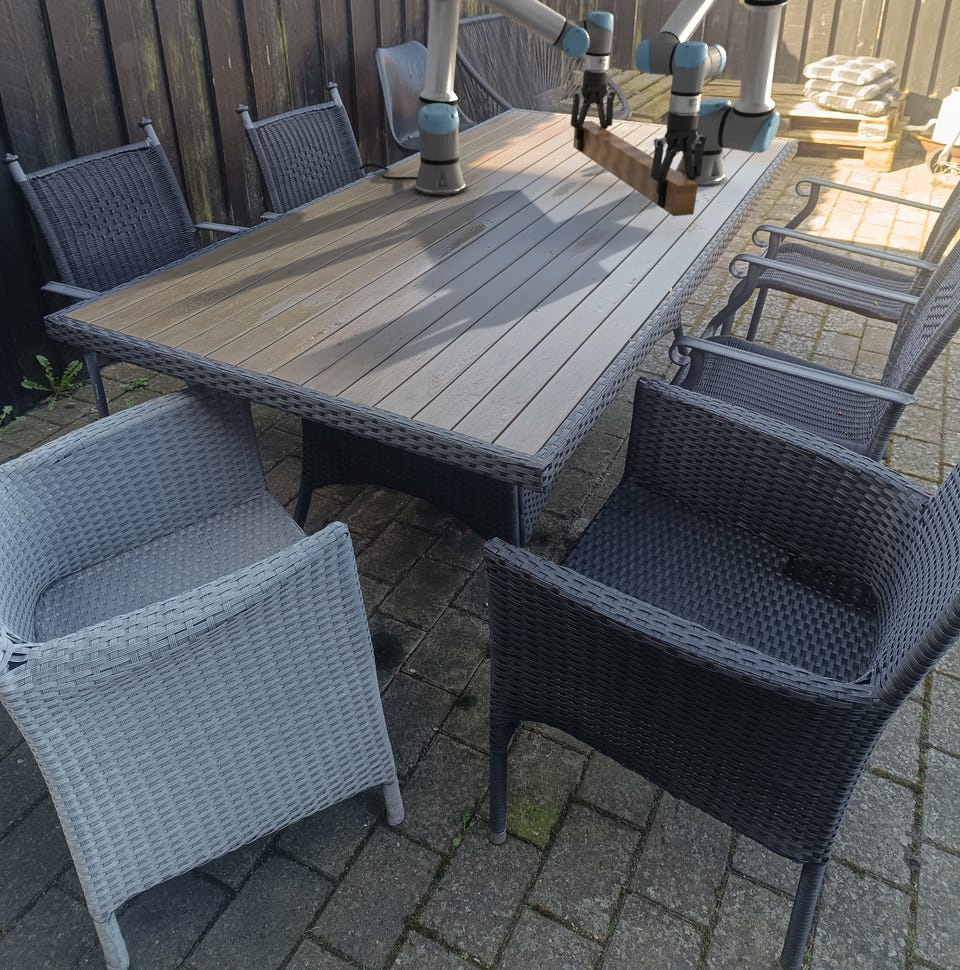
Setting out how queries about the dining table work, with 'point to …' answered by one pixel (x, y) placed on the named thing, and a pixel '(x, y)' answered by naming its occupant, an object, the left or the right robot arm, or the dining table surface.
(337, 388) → the dining table surface
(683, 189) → the beam
